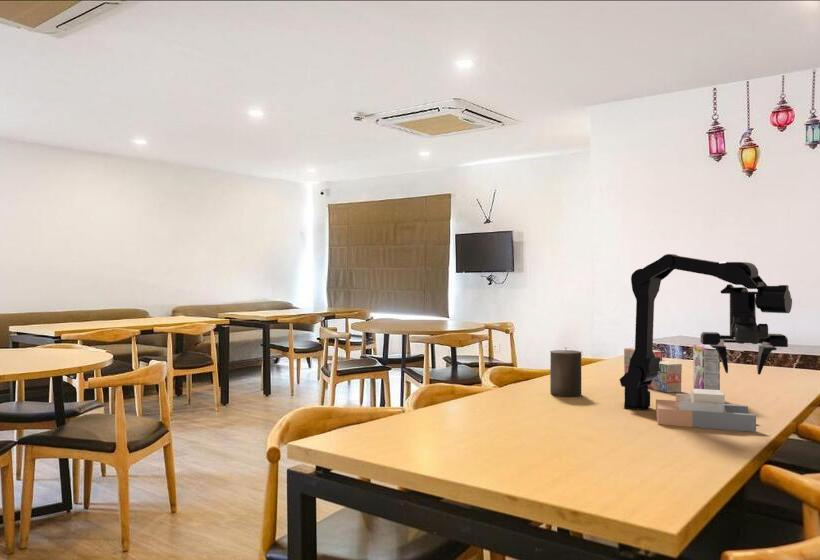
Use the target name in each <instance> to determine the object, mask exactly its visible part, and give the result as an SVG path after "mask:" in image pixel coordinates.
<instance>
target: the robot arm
mask: <svg viewBox="0 0 820 560" xmlns="http://www.w3.org/2000/svg"><path fill="white" fill-rule="evenodd" d="M674 270H676V271H677V270H678V271H682V272H688V273H695V274H701V275H706V276H711V277H714V278H717V279H719V280H722V281H723V282H726V283H729V284H726V286H725V287H723V289H722V290H720V294H724V295H725V294H728V295H729V335H728V334H727V335H726V334H725V335H724V334H723V335H722V334H720V333H719V332H716V331H715V332H714V331H702V333H701V334H700V344H701V345H710V346H711V347H712V348H716V350H717V352H718V354H719V356H720V357H719V358H720V361H721V363H722V366H723V369H724V372H725V373H726V374H729V364H728V356H727V346H725V343H727V344H728V343H735V344H742V345H743V344H752V345H758V344H759V345H758V352H757V354H758V355H757V366H756V371H757V372H756V373H757V375H759V376H760V375H761V373H762V372H763V368H764V366H765V363H766V361H767V359H768V357H769V355H770V354H771V353H772V352H773V351H777V349H778V348H788V347H789V339H788V336H786V335H784V334H781V333H769V325H768V324H767V323H758V324H757V317H756V316H757V315H756V313H757V312H756V311H757V310H756V309H759V310H760V312H761V313H766V314H767V313H768V314H771V313H773V314H790V312H791V310H792V308H793V307H792V306H793V298H792V295H791V292H790V289H789V288H790V287H789V285H788V284H781V285H780V284H778V285H767V284H766V282H765V281H764V279H763V278H762V277H761V276H760V275H759V270H758V268H757V266H756V265H755V264H754V263H751V262H745V261H743V262H742V261H726V262H725V261H721V262H719V261H711V260H706V259H699V258H694V257H687V256H681V255H677V254H675V253H674V254H673V253H667V254H664V255H663V256H661V257H660V258H658V259H656V260H655V261H653V262H651V263H650V264H648V265H646V266H644V267H643V268H638V269H636V270H635V271H633V272H632V274H631V276H630V283H631V289H632V293H633V295H634V297H635V302H636V306H635V309H636V310H635V335H634V336H635V337H634V338H635V339H634V348H635V350H634V353H633V355H632V357H631V359H630V363H629V368H628V372H627V373H626V374H625V373H624V374H625V375H624V374H623V375H622V377H620V378H619V382H620V386H621V387H623V388H624V402H623V408H624V409H628V410H629V409H631V410H632V409H633V410H644V411H645V410H649V408H650V407H651V391H650V390H649V388H648V385H651V383H652V380H653V379H654V378H655V377H657V374H658V372H659V371H660V368H659V363H660V357H655V355H654V353H653V350H654V349H653V348H654V347H653V346H654V345H653V343H654V321H655V320H654V315H655V313H654V312H655V299H656V298H657V295H658V293H659V291H660V287H661V283H662V280H665V278H667V277H668V276H669V275H670V274H671V273H672V272H673V271H674ZM734 285H735V286H738V287H735V286H734ZM740 286H741V287H740ZM748 289H749V290H757V291H749V290H748Z"/></svg>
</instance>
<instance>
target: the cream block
mask: <svg viewBox="0 0 820 560" xmlns="http://www.w3.org/2000/svg"><path fill="white" fill-rule="evenodd" d="M690 394H691V402H702V403H717V404H723V405H724V411H725V404H726V403H725V402H726V401H725V394H724V393H723V391H722V390H721V389H720V390H708V389H694V388H690Z"/></svg>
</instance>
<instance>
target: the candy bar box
mask: <svg viewBox="0 0 820 560" xmlns="http://www.w3.org/2000/svg"><path fill="white" fill-rule="evenodd" d="M692 346H693V351H692V355H693V359H692V360H693V361H692V362H693V366H692V367H693V389H708V390H721V387H720V385H721V382H720V380H721V378H720V376H721V374H720V373H721V372H720V371H721V368H720V366H721V365H720V361H721V358H720V356H719V354H718V352H717V350H716V348H712V347H711V345H704V344H693V345H692Z"/></svg>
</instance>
